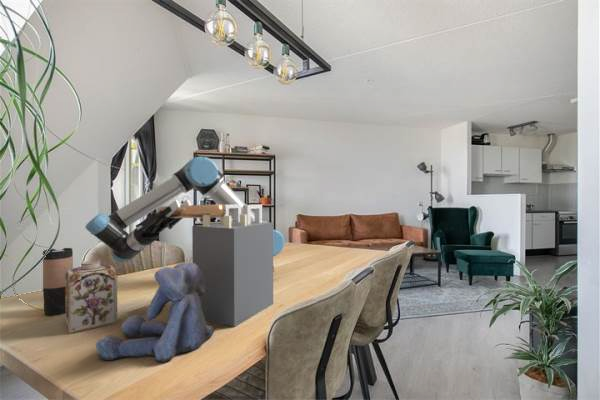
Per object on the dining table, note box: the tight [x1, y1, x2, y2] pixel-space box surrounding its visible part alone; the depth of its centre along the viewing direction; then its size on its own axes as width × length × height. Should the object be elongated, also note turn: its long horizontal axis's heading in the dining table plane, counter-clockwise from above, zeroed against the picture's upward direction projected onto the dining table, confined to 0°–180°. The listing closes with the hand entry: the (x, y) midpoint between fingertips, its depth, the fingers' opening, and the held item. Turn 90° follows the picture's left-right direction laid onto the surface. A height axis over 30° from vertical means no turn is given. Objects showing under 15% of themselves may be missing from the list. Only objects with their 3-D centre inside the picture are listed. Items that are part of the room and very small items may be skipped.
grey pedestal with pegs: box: [191, 204, 274, 328], centre depth 100 cm, size 21×16×34 cm
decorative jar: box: [65, 260, 119, 334], centre depth 90 cm, size 12×12×18 cm
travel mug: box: [42, 247, 74, 317], centre depth 99 cm, size 8×8×20 cm
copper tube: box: [157, 203, 226, 219], centre depth 99 cm, size 26×4×4 cm, turn 63°
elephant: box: [95, 260, 215, 363], centre depth 78 cm, size 21×25×21 cm
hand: (183, 203), depth 100 cm, fingers closed on copper tube, 4 cm apart
